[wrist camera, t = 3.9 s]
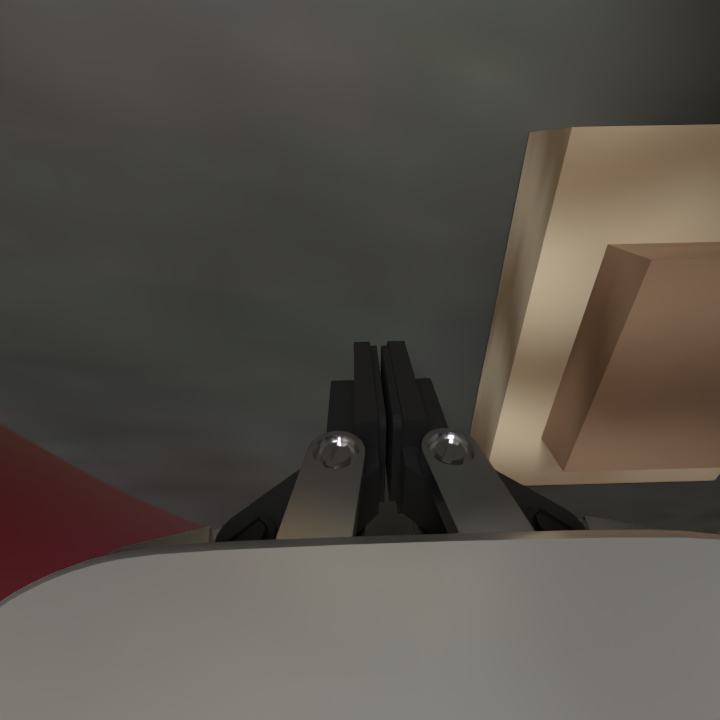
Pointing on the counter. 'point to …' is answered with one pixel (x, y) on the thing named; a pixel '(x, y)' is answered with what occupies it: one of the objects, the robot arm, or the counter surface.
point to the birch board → (582, 272)
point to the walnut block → (644, 364)
